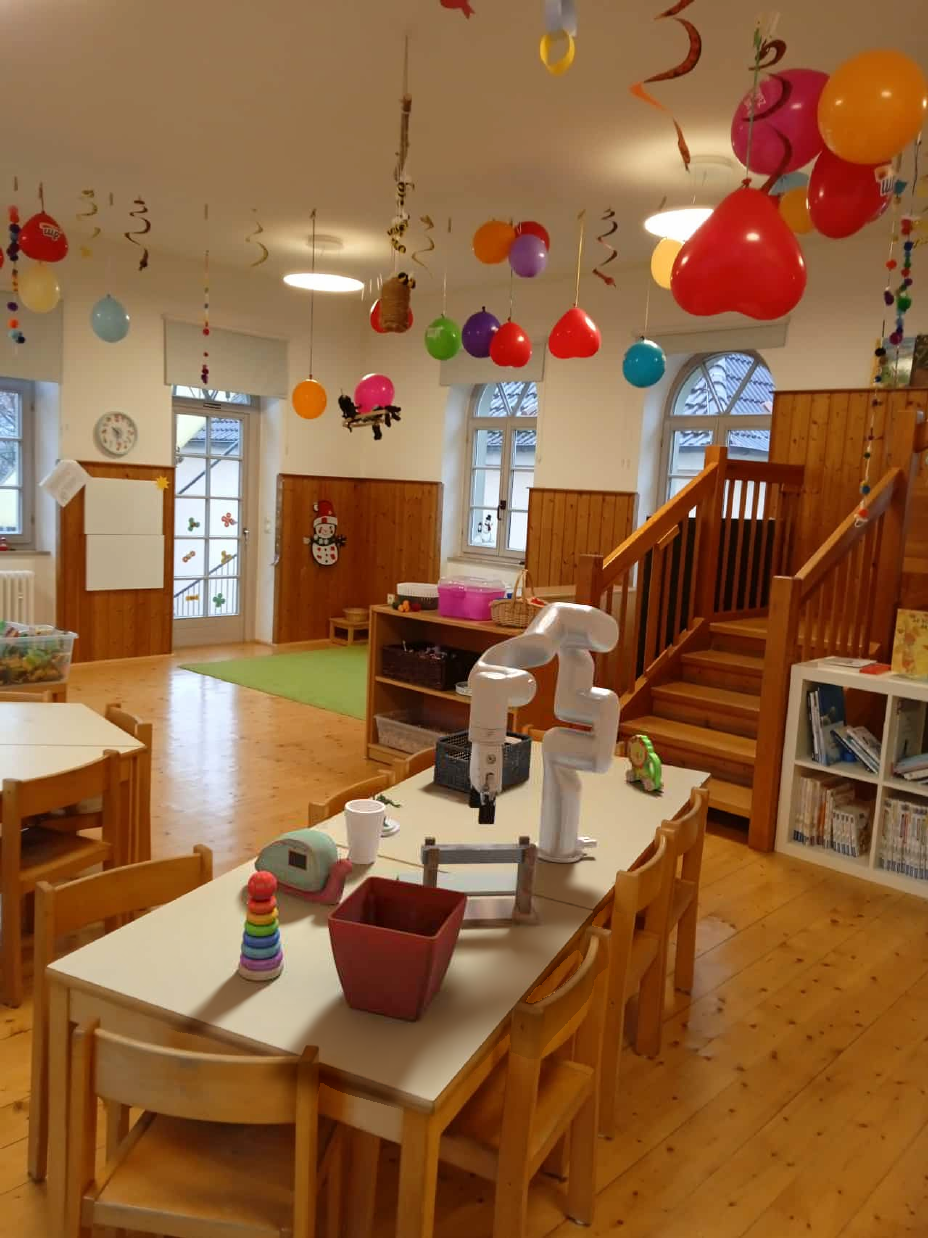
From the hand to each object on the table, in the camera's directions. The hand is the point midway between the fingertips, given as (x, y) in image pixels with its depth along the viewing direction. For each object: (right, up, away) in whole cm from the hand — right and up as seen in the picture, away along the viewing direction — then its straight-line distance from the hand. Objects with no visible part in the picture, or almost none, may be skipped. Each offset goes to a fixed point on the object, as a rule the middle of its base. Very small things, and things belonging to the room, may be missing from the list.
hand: (481, 815), depth 191 cm
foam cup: (-27, -17, +29) cm, 43 cm away
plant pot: (-15, -25, -29) cm, 41 cm away
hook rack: (-1, -22, +3) cm, 22 cm away
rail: (0, -10, +2) cm, 10 cm away
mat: (-4, -19, +18) cm, 27 cm away
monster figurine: (-26, -14, +49) cm, 58 cm away
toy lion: (+52, -12, +101) cm, 114 cm away
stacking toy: (-40, -23, -24) cm, 52 cm away
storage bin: (+2, -9, +95) cm, 96 cm away
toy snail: (-38, -19, +10) cm, 43 cm away
